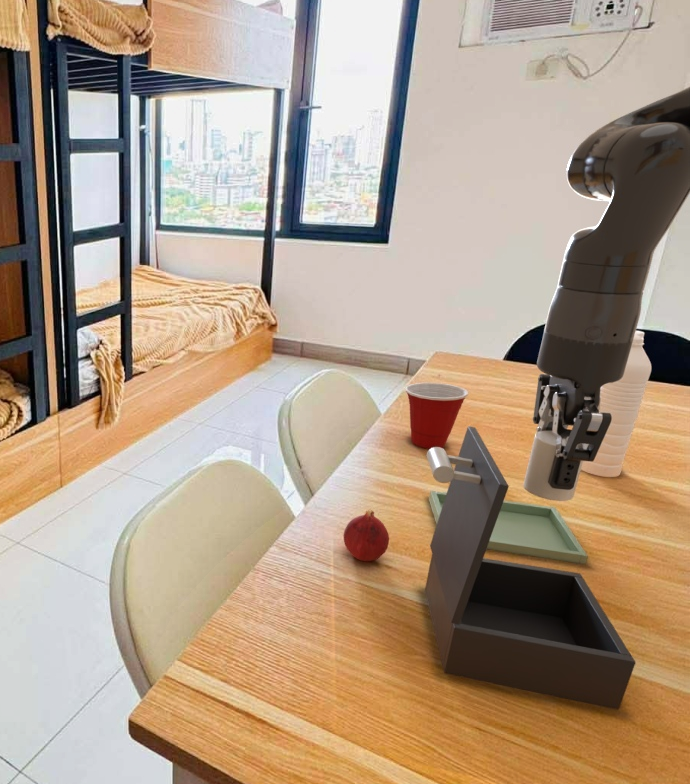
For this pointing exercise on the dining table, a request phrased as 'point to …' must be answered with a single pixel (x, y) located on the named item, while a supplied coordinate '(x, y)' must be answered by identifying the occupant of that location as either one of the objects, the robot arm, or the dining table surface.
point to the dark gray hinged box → (532, 634)
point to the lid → (464, 517)
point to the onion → (366, 537)
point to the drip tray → (528, 531)
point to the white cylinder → (545, 469)
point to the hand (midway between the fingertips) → (551, 475)
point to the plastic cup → (433, 412)
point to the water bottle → (621, 411)
